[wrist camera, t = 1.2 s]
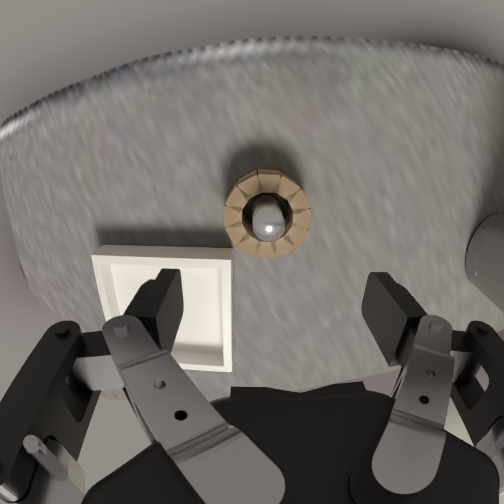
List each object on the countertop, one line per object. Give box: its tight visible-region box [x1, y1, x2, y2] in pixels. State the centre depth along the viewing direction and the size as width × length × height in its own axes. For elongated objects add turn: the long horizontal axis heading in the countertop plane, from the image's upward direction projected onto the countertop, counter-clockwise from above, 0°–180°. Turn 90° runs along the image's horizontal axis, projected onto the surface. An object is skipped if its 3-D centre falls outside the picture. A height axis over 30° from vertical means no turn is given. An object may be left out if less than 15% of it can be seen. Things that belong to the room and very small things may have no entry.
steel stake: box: [253, 195, 285, 241], centre depth 22 cm, size 2×2×5 cm
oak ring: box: [224, 169, 311, 258], centre depth 23 cm, size 6×6×3 cm
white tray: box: [91, 245, 233, 372], centre depth 27 cm, size 13×13×2 cm
